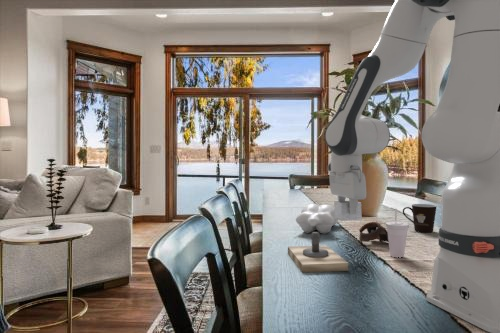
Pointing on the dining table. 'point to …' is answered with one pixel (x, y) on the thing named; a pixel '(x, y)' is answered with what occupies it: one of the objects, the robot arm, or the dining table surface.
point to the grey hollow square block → (346, 211)
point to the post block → (317, 257)
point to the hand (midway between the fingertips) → (347, 212)
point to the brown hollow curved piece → (373, 232)
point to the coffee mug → (423, 217)
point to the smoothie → (397, 237)
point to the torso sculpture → (317, 218)
